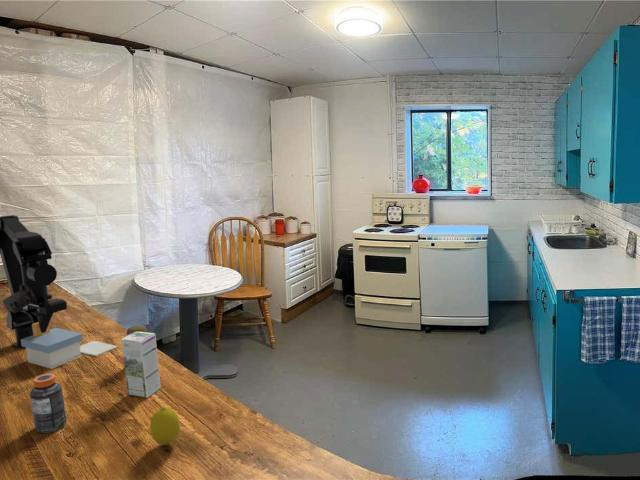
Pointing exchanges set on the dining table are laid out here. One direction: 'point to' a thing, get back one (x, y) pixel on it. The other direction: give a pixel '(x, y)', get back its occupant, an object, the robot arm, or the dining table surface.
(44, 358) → the parts tub
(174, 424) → the lemon
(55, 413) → the pill bottle
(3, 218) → the robot arm
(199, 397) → the dining table surface
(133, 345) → the syrup box
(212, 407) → the dining table surface
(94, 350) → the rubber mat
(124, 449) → the dining table surface
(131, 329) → the cork
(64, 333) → the lid
